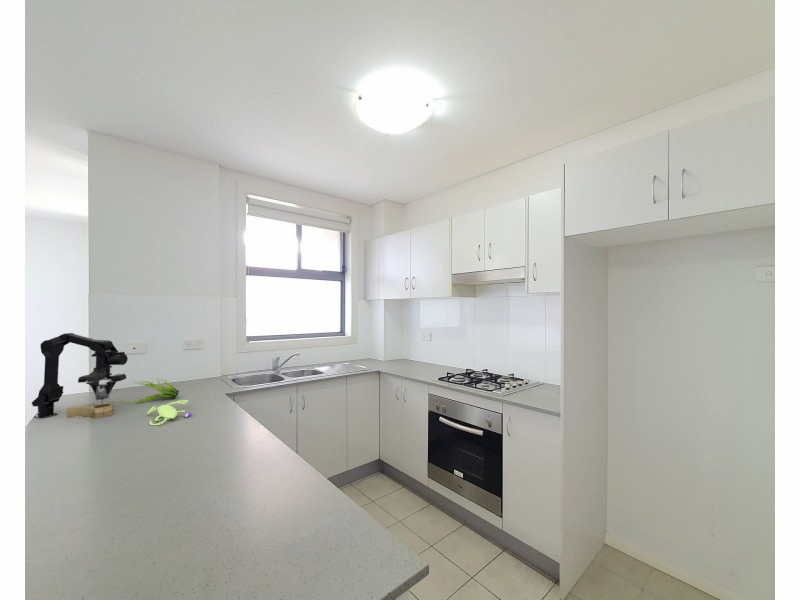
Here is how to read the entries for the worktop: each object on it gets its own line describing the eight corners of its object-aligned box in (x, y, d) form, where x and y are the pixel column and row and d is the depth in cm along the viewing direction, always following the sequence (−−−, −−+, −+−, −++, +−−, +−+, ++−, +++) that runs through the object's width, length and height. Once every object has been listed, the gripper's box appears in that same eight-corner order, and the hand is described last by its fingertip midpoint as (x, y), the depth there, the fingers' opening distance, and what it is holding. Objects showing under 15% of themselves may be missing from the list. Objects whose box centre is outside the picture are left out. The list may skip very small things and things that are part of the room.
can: (95, 407, 182) (96, 386, 182) (92, 404, 187) (93, 384, 187) (113, 404, 188) (113, 383, 188) (110, 401, 193) (110, 381, 193)
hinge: (66, 417, 166) (66, 407, 166) (102, 407, 182) (102, 398, 182) (89, 421, 161) (89, 411, 161) (124, 411, 176) (124, 402, 176)
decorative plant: (131, 397, 202) (132, 374, 202) (181, 397, 204) (181, 373, 204) (107, 406, 184) (108, 381, 184) (162, 406, 186) (162, 380, 186)
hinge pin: (93, 399, 168) (93, 385, 168) (104, 396, 173) (104, 383, 173) (99, 400, 167) (100, 386, 167) (110, 397, 172) (111, 384, 172)
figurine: (186, 406, 187) (186, 397, 187) (195, 419, 167) (195, 408, 167) (146, 413, 175) (146, 403, 175) (149, 428, 154) (150, 416, 155)
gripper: (70, 368, 160) (69, 399, 160) (113, 367, 164) (113, 398, 164) (86, 364, 171) (85, 393, 171) (127, 363, 175) (126, 392, 175)
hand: (102, 394), depth 170 cm, fingers closed on hinge pin, 5 cm apart
